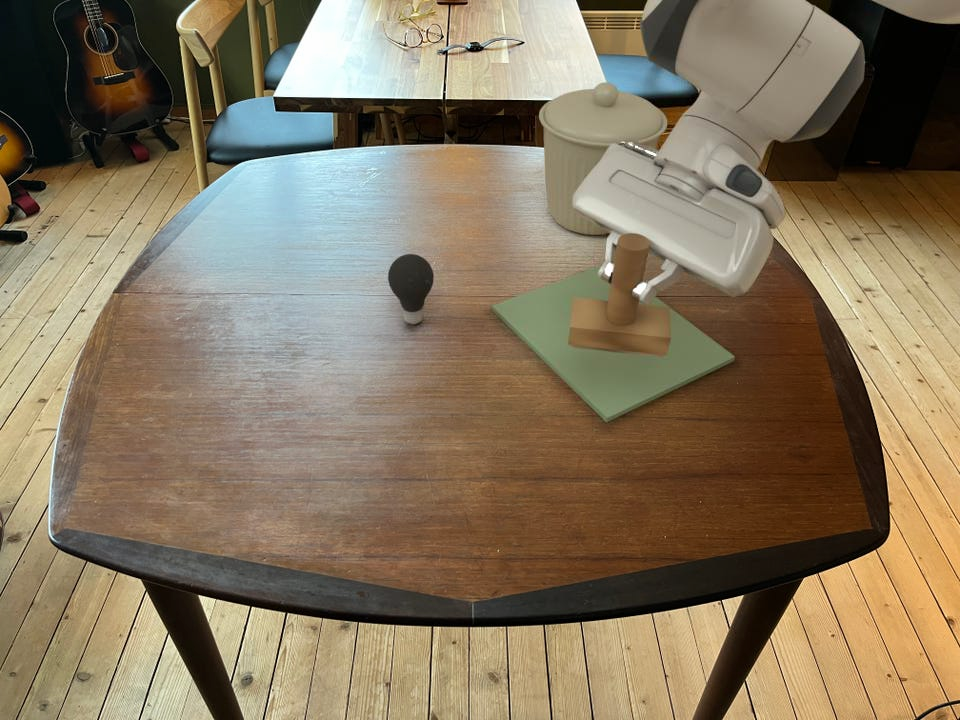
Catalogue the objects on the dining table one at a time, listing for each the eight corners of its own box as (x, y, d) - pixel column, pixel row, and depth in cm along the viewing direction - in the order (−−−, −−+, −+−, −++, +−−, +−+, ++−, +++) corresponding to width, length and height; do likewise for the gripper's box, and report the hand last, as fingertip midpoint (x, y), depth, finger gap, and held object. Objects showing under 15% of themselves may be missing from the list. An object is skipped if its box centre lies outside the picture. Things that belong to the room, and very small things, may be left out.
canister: (669, 214, 116) (696, 81, 102) (608, 263, 106) (630, 122, 92) (574, 179, 125) (587, 51, 111) (509, 221, 114) (515, 86, 100)
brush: (664, 329, 78) (686, 232, 70) (665, 360, 74) (689, 261, 66) (570, 319, 79) (581, 222, 71) (567, 349, 76) (578, 250, 68)
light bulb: (387, 333, 93) (381, 268, 87) (397, 307, 97) (392, 242, 91) (430, 338, 93) (427, 273, 86) (439, 311, 97) (437, 247, 90)
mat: (733, 361, 90) (735, 356, 89) (606, 422, 82) (607, 417, 81) (609, 266, 105) (609, 261, 105) (491, 310, 97) (491, 305, 97)
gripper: (607, 118, 74) (532, 236, 75) (790, 195, 62) (697, 331, 64) (629, 147, 79) (559, 256, 81) (801, 222, 68) (716, 348, 69)
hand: (621, 290), depth 72 cm, fingers closed on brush, 3 cm apart
